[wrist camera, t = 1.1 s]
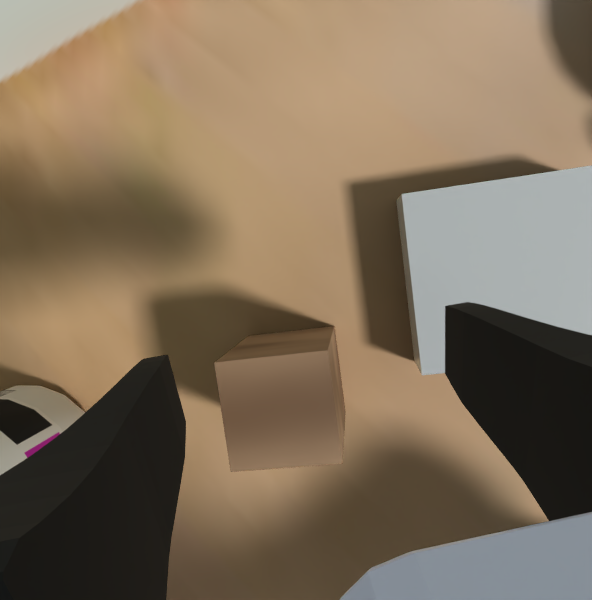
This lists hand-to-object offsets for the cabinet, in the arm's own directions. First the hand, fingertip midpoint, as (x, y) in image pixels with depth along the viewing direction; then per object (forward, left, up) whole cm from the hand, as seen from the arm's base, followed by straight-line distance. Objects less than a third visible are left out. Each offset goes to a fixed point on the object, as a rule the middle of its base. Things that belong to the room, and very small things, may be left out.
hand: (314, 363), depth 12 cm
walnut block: (-3, +2, -12) cm, 12 cm away
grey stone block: (+1, -8, -12) cm, 14 cm away
